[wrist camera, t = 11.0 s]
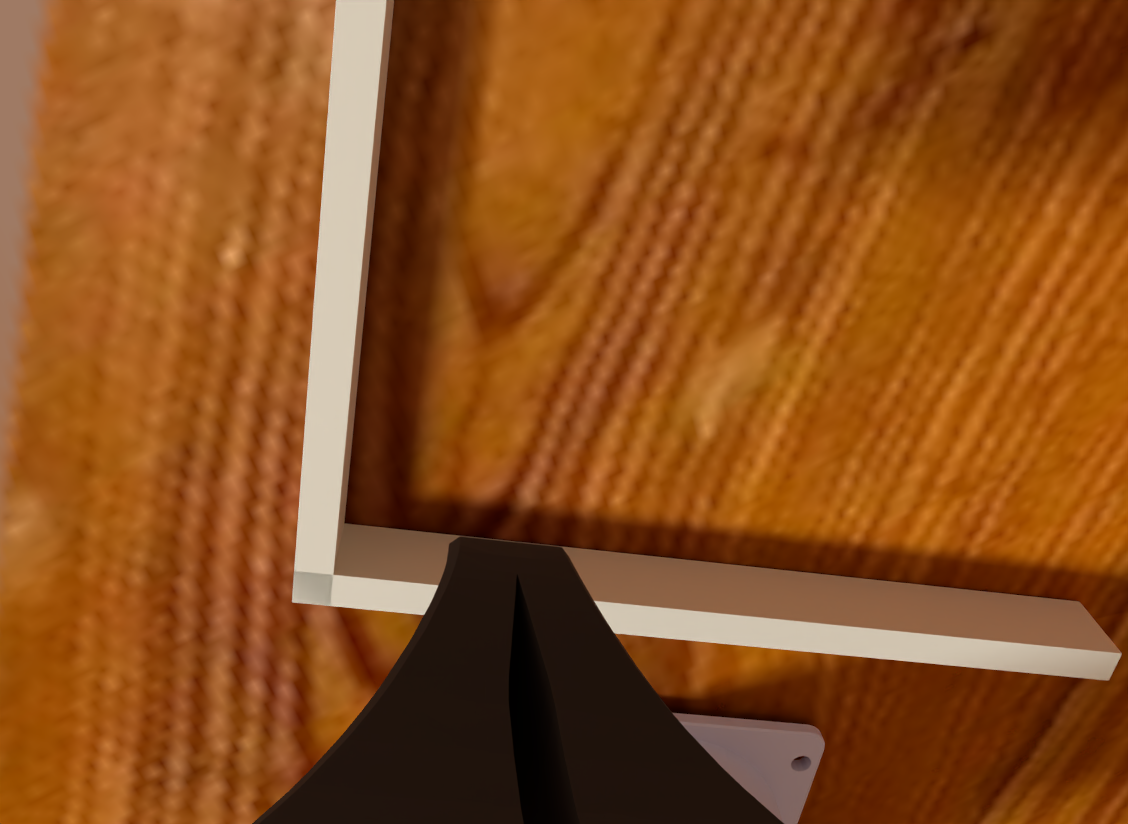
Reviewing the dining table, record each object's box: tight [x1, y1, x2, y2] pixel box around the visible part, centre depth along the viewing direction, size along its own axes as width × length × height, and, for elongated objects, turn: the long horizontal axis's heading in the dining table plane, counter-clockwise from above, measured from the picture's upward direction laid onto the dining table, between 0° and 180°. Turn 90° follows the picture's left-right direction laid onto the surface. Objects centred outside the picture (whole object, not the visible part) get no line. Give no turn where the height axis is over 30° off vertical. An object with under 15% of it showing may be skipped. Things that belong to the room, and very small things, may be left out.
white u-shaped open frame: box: [292, 0, 1122, 681], centre depth 21 cm, size 17×19×2 cm
